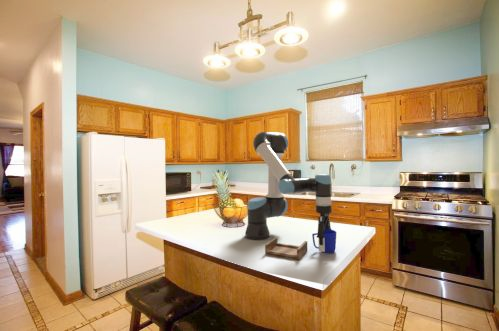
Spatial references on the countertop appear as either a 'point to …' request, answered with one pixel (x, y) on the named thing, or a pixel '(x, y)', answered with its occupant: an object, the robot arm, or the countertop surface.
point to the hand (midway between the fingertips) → (324, 247)
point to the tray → (285, 249)
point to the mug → (328, 240)
